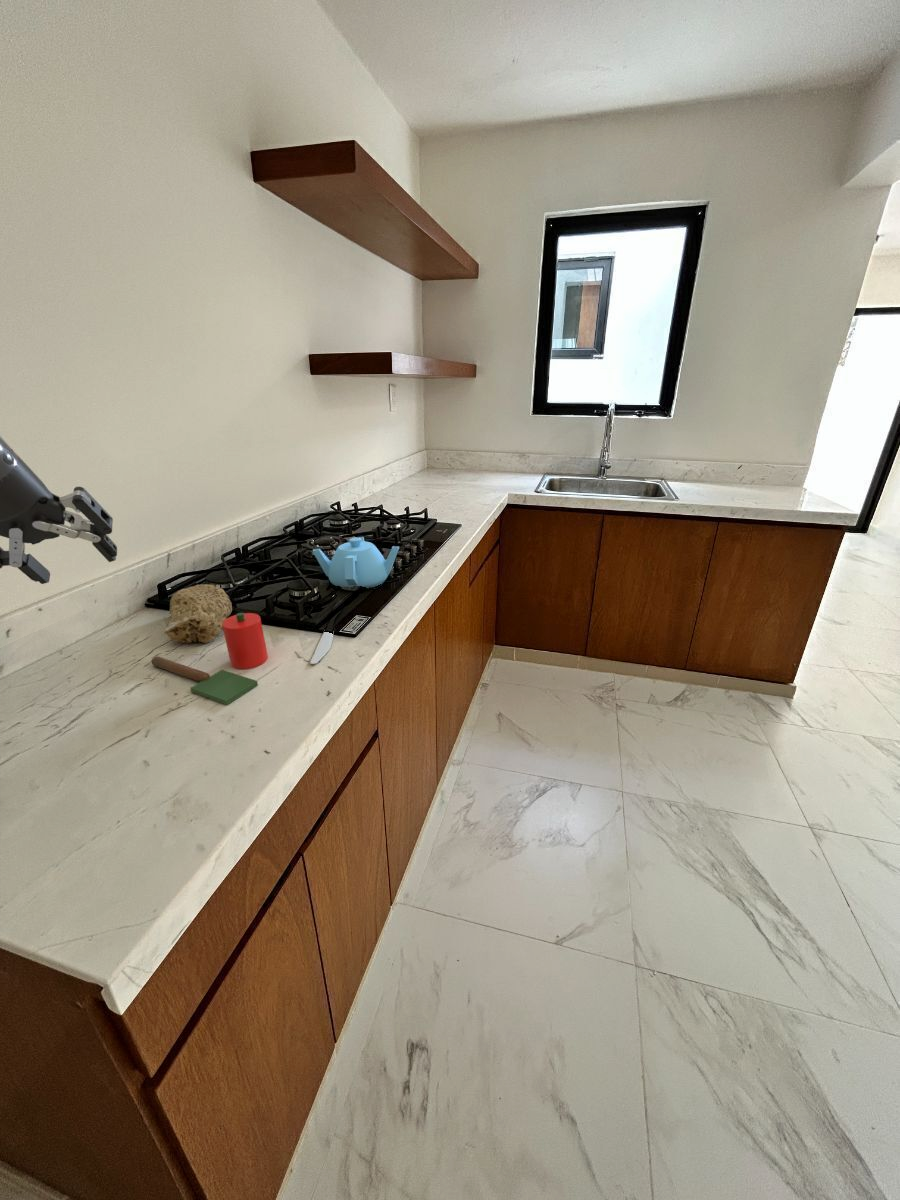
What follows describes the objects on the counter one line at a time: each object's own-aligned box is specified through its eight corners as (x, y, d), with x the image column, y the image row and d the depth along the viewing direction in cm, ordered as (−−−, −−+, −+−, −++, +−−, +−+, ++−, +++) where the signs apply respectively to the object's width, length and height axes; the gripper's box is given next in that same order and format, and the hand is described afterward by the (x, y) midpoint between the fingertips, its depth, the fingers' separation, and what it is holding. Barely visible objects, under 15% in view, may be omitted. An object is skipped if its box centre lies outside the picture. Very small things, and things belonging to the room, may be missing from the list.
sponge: (229, 648, 92) (246, 588, 109) (210, 616, 88) (231, 558, 104) (159, 665, 92) (187, 603, 108) (136, 633, 87) (168, 573, 103)
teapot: (313, 583, 119) (307, 539, 114) (364, 567, 128) (360, 526, 124) (351, 600, 109) (346, 553, 104) (403, 581, 119) (400, 537, 114)
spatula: (138, 672, 83) (135, 664, 82) (171, 656, 88) (168, 648, 87) (226, 705, 74) (224, 696, 73) (258, 685, 79) (256, 676, 78)
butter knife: (350, 598, 108) (336, 597, 108) (323, 663, 83) (305, 663, 83) (350, 600, 108) (336, 600, 108) (323, 666, 84) (305, 666, 84)
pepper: (223, 664, 85) (212, 617, 81) (250, 648, 90) (241, 604, 86) (248, 672, 82) (238, 624, 79) (275, 656, 87) (266, 610, 83)
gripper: (51, 431, 57) (135, 533, 70) (-85, 469, 55) (27, 567, 68) (44, 468, 53) (134, 569, 65) (-104, 510, 50) (19, 607, 63)
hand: (80, 568), depth 67 cm, fingers open, 8 cm apart
